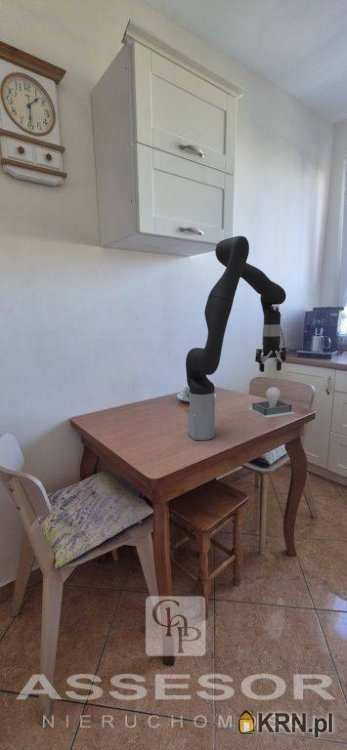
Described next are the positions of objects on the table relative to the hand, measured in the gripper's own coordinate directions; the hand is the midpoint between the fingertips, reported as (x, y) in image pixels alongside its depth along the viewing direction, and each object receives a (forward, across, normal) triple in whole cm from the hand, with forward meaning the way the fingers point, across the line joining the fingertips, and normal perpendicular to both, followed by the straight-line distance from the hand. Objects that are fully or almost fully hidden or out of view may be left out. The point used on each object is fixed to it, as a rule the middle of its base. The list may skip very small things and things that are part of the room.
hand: (270, 371), depth 143 cm
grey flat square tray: (+19, +1, 0) cm, 19 cm away
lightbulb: (+19, +1, -1) cm, 19 cm away
